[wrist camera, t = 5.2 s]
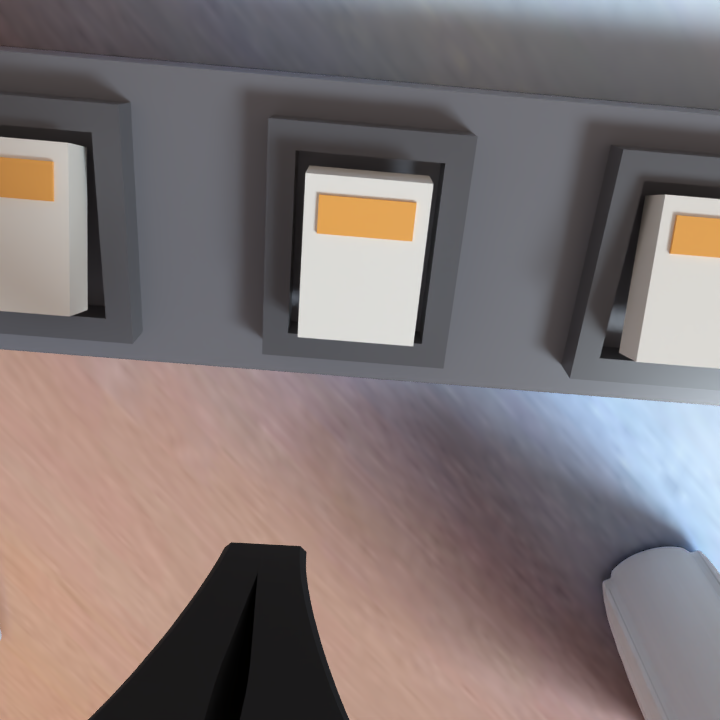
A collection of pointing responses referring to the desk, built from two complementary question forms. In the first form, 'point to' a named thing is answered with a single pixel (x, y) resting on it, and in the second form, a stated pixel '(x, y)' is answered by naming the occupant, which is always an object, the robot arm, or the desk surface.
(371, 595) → the desk surface
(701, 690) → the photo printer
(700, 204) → the rocker
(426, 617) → the desk surface
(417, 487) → the desk surface
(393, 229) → the middle rocker
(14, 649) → the desk surface
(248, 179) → the rocker switch panel
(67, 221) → the rocker
